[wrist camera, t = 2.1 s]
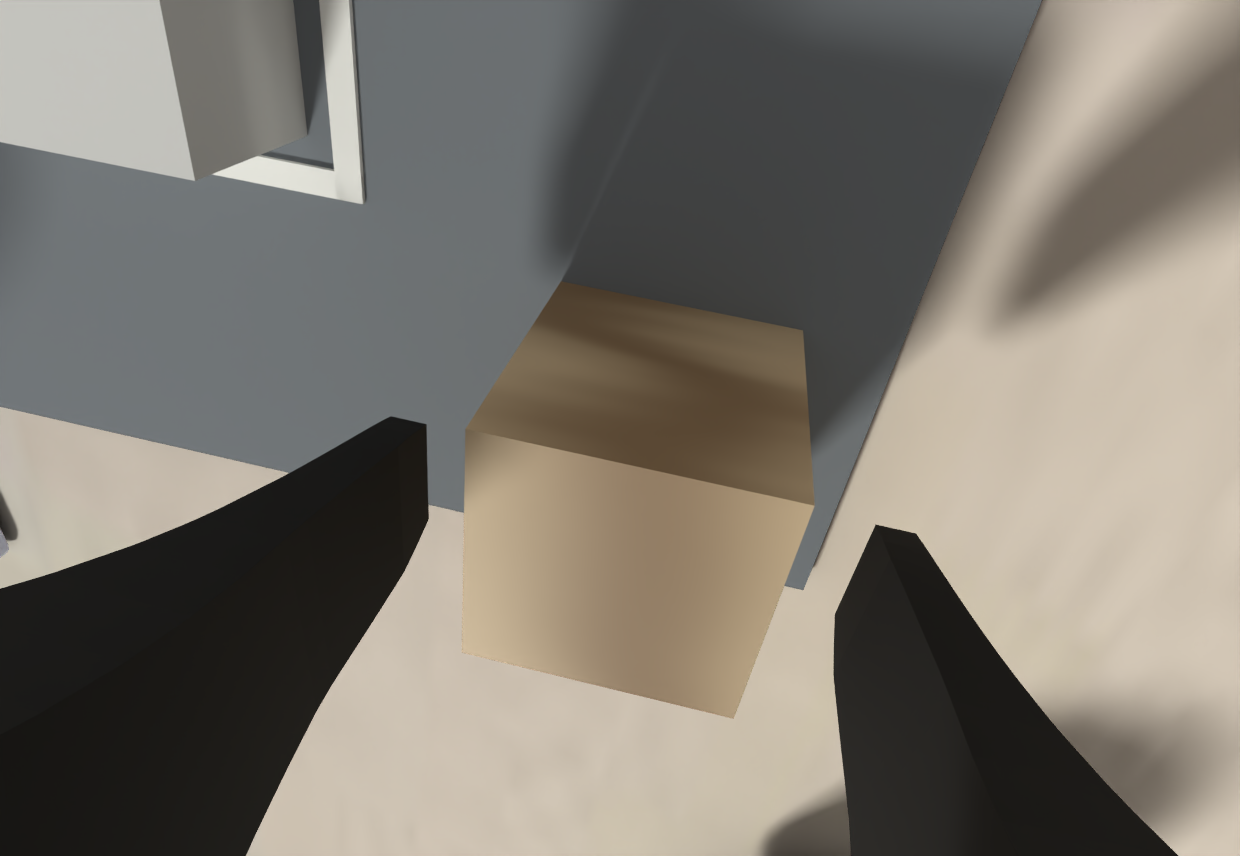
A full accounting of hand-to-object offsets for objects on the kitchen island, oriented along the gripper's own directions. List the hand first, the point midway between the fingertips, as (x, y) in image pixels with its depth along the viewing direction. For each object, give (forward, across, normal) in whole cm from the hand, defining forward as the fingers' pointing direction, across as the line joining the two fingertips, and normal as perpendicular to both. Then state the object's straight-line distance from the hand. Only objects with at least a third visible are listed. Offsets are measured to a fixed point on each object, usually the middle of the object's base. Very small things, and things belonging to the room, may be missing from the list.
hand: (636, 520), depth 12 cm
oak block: (+3, 0, 0) cm, 4 cm away
